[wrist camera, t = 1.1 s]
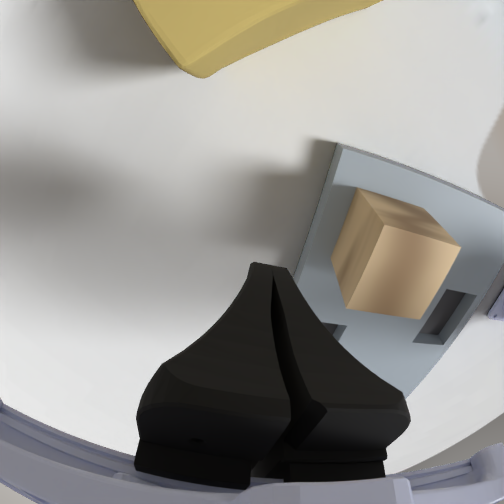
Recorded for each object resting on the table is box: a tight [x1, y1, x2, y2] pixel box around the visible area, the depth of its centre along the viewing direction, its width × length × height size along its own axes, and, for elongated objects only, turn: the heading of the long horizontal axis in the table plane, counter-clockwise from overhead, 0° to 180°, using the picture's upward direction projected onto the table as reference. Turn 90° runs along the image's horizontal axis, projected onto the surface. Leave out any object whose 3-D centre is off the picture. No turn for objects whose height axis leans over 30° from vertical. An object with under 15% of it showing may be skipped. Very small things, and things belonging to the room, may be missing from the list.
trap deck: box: [293, 143, 504, 399], centre depth 23 cm, size 17×26×4 cm, turn 168°
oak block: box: [331, 187, 461, 320], centre depth 17 cm, size 5×5×5 cm
